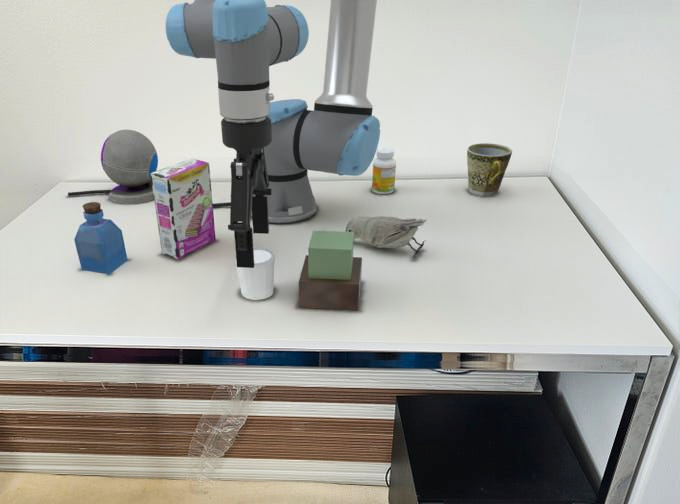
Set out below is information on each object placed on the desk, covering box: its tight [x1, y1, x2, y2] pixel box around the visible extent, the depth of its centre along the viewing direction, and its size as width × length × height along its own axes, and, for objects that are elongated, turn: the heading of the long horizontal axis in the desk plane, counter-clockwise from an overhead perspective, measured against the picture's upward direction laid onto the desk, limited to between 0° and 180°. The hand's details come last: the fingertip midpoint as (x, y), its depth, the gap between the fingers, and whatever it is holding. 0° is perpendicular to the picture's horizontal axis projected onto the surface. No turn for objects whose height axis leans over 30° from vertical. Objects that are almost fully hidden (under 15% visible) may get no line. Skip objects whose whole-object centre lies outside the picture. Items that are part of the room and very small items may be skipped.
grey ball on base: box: [100, 129, 159, 205], centre depth 145 cm, size 13×13×15 cm
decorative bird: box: [345, 215, 427, 259], centre depth 120 cm, size 5×16×8 cm, turn 64°
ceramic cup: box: [466, 142, 513, 197], centre depth 143 cm, size 13×10×10 cm
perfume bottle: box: [73, 201, 129, 275], centre depth 115 cm, size 6×6×12 cm
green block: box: [307, 229, 355, 280], centre depth 103 cm, size 7×7×6 cm
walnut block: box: [298, 254, 363, 311], centre depth 106 cm, size 10×10×5 cm
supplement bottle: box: [371, 147, 397, 195], centre depth 146 cm, size 5×5×10 cm
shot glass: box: [234, 247, 276, 301], centre depth 107 cm, size 7×7×7 cm
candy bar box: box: [150, 158, 217, 261], centre depth 119 cm, size 11×5×16 cm, turn 145°
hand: (253, 249), depth 104 cm, fingers open, 13 cm apart
